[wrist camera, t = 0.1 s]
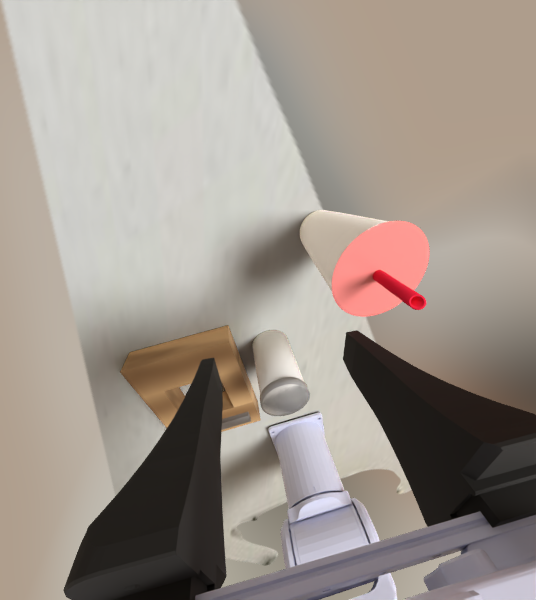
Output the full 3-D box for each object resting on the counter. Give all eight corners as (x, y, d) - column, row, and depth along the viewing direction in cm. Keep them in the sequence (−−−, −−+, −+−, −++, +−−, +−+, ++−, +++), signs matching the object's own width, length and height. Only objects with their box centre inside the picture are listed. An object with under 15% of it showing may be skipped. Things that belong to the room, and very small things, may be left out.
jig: (257, 401, 30) (261, 424, 27) (183, 423, 29) (179, 448, 27) (228, 325, 23) (229, 345, 20) (129, 352, 22) (118, 376, 20)
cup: (275, 224, 19) (342, 299, 8) (332, 181, 18) (484, 206, 7) (307, 272, 21) (386, 371, 11) (357, 236, 20) (494, 310, 10)
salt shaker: (291, 352, 26) (312, 407, 20) (256, 362, 26) (266, 421, 20) (285, 324, 24) (306, 377, 18) (247, 335, 24) (255, 392, 18)
